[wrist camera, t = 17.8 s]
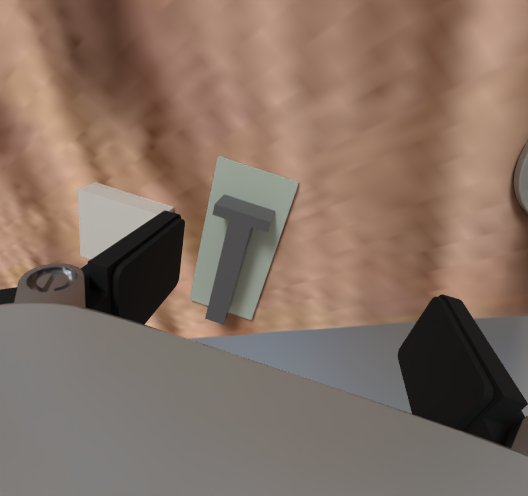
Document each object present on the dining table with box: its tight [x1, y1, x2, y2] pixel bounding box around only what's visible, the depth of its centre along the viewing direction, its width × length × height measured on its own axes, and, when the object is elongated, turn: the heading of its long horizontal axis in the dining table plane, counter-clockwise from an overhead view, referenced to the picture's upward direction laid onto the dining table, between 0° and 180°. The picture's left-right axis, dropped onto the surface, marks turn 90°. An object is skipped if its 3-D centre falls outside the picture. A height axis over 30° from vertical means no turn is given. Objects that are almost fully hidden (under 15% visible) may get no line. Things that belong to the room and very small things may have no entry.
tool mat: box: [190, 156, 299, 320], centre depth 36 cm, size 9×20×1 cm, turn 164°
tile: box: [78, 182, 174, 259], centre depth 36 cm, size 3×9×10 cm
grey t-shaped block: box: [205, 194, 275, 324], centre depth 35 cm, size 15×6×4 cm, turn 164°
